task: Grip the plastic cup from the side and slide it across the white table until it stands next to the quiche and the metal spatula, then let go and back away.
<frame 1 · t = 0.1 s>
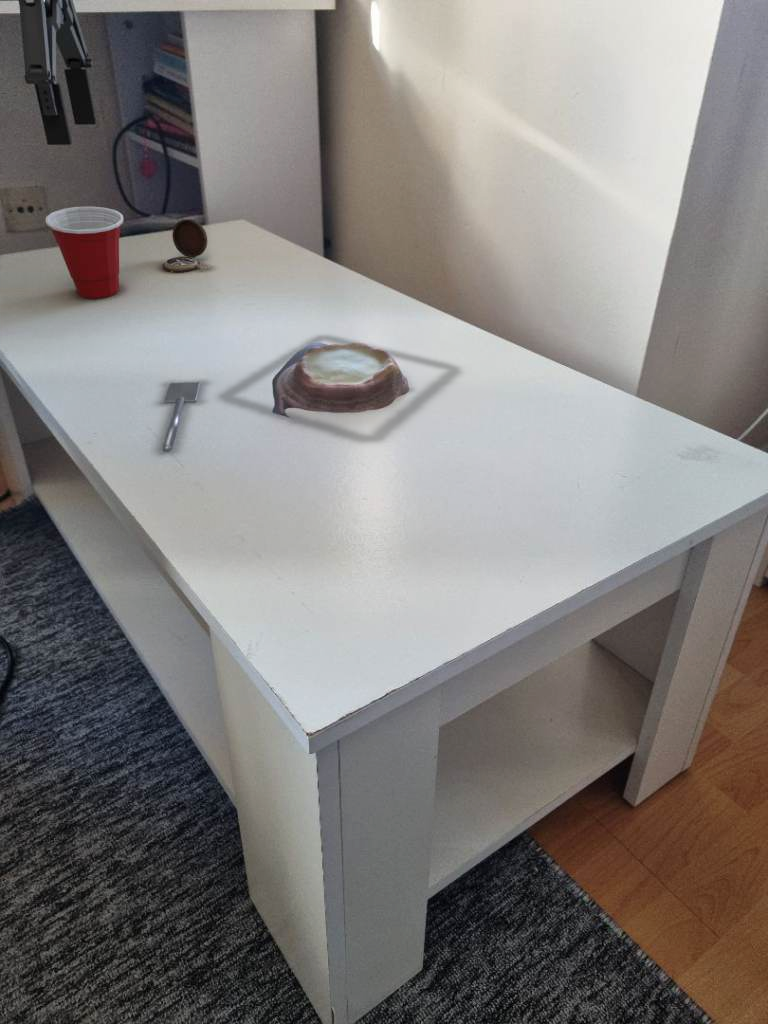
hand: (73, 134, 103), 24 cm above the table, tool pointing down, fingers open, 13 cm apart
plastic cup: (100, 297, 123), on the table
metal spatula: (177, 419, 91), on the table
compass: (189, 270, 134), on the table
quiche: (343, 388, 98), on the table
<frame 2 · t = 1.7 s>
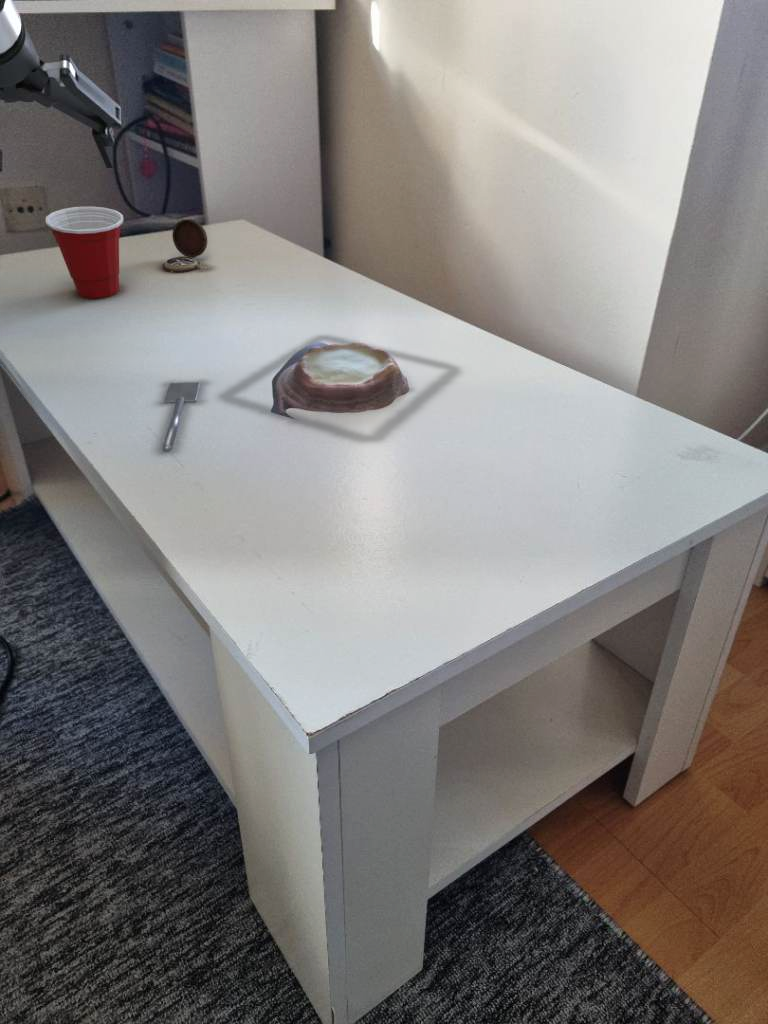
hand: (54, 160, 102), 22 cm above the table, tool tilted 45°, fingers open, 13 cm apart
nothing on the table moved.
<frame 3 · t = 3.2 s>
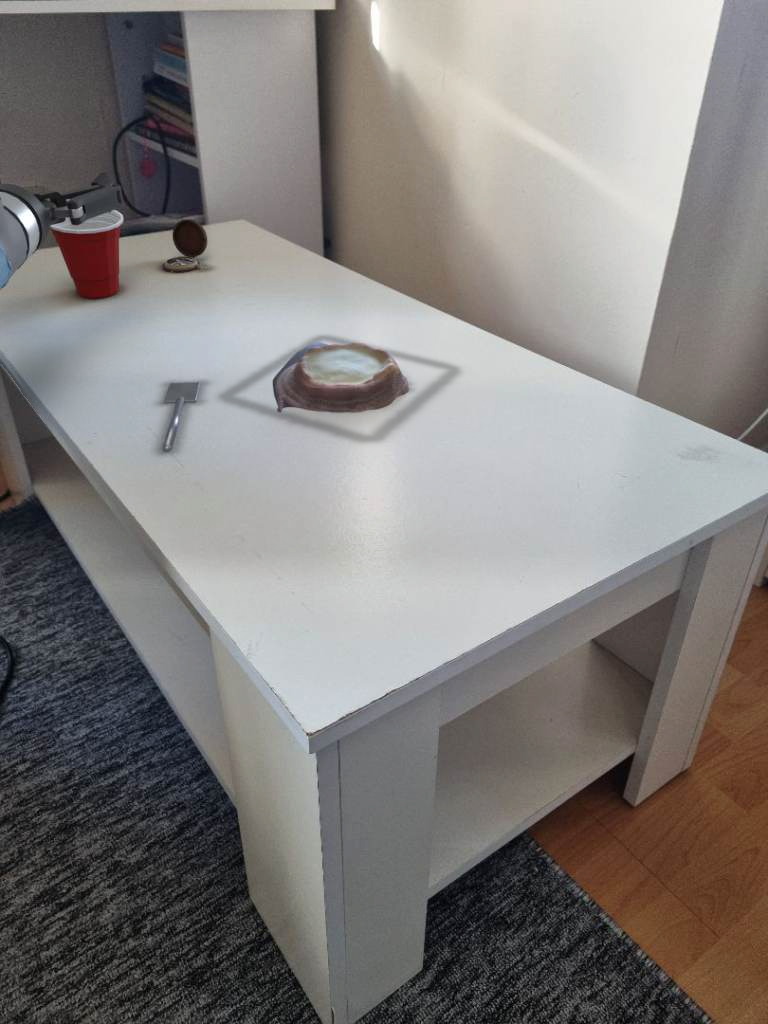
hand: (53, 185, 104), 18 cm above the table, tool horizontal, fingers open, 13 cm apart
nothing on the table moved.
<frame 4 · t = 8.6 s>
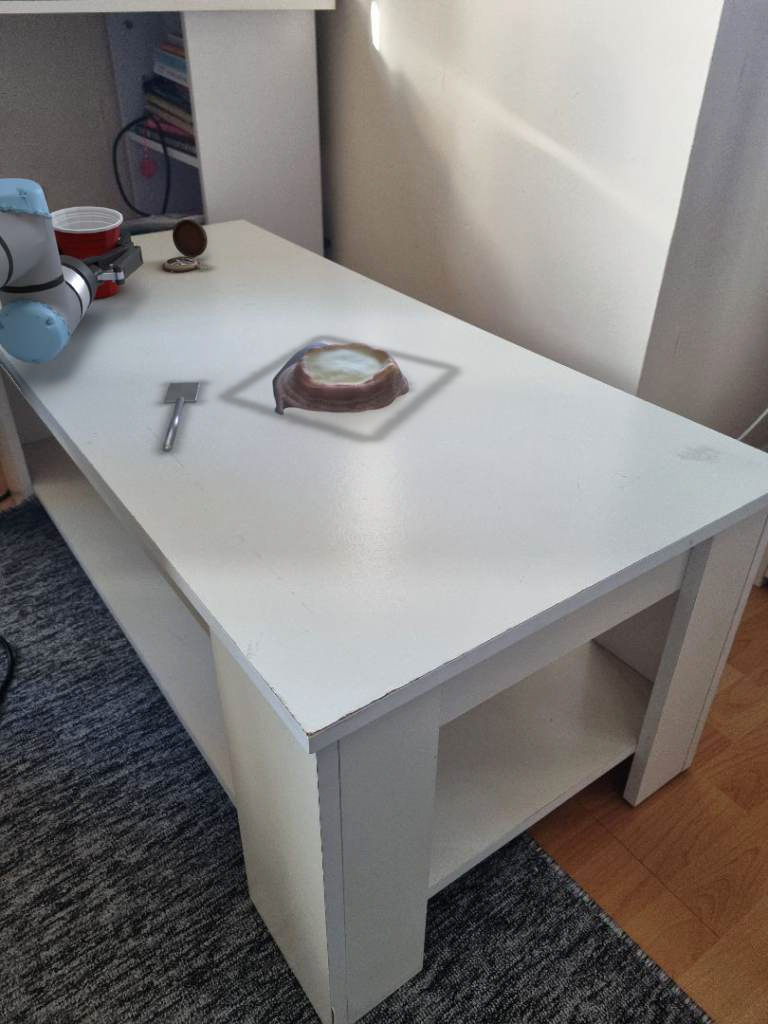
hand: (98, 240, 123), 7 cm above the table, tool horizontal, fingers closed on plastic cup, 8 cm apart
plastic cup: (100, 297, 123), on the table, touching gripper
everything else where it was.
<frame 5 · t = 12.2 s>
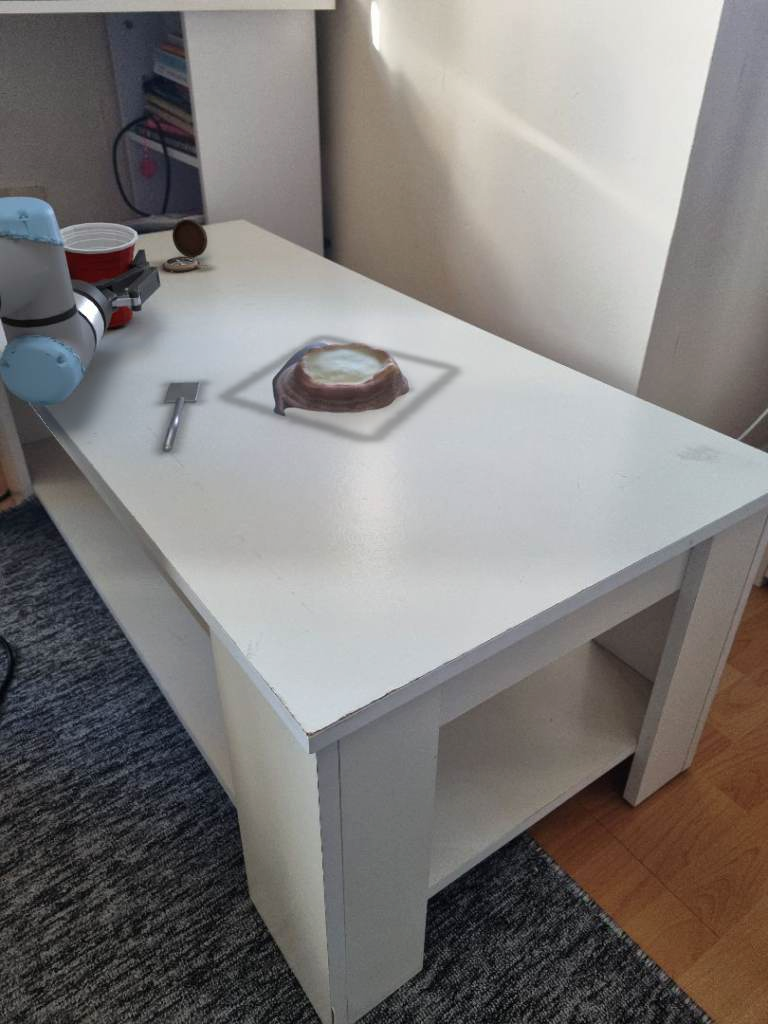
hand: (110, 260, 112), 8 cm above the table, tool horizontal, fingers closed on plastic cup, 8 cm apart
plastic cup: (112, 321, 112), point 1 cm above the table, touching gripper
everything else where it was.
when the fingers open (7 cm above the table, at t = 16.2 s): plastic cup stays where it is, on the table.
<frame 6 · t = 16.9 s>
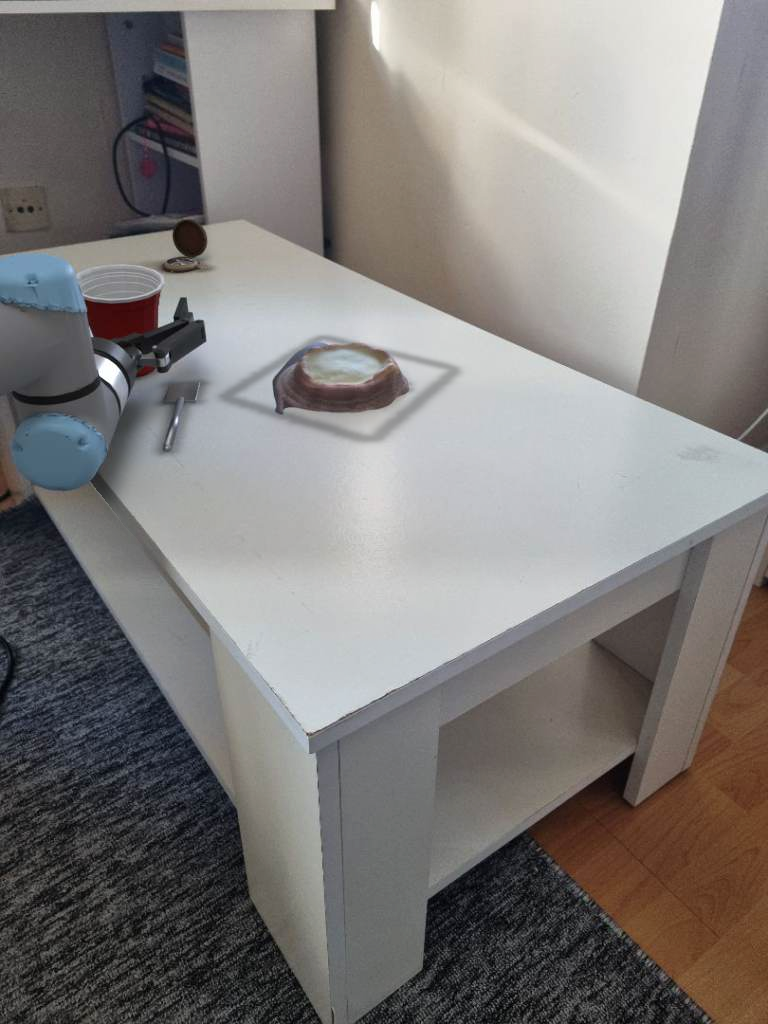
hand: (129, 309, 100), 7 cm above the table, tool horizontal, fingers open, 13 cm apart
plastic cup: (134, 373, 101), on the table
everything else where it was.
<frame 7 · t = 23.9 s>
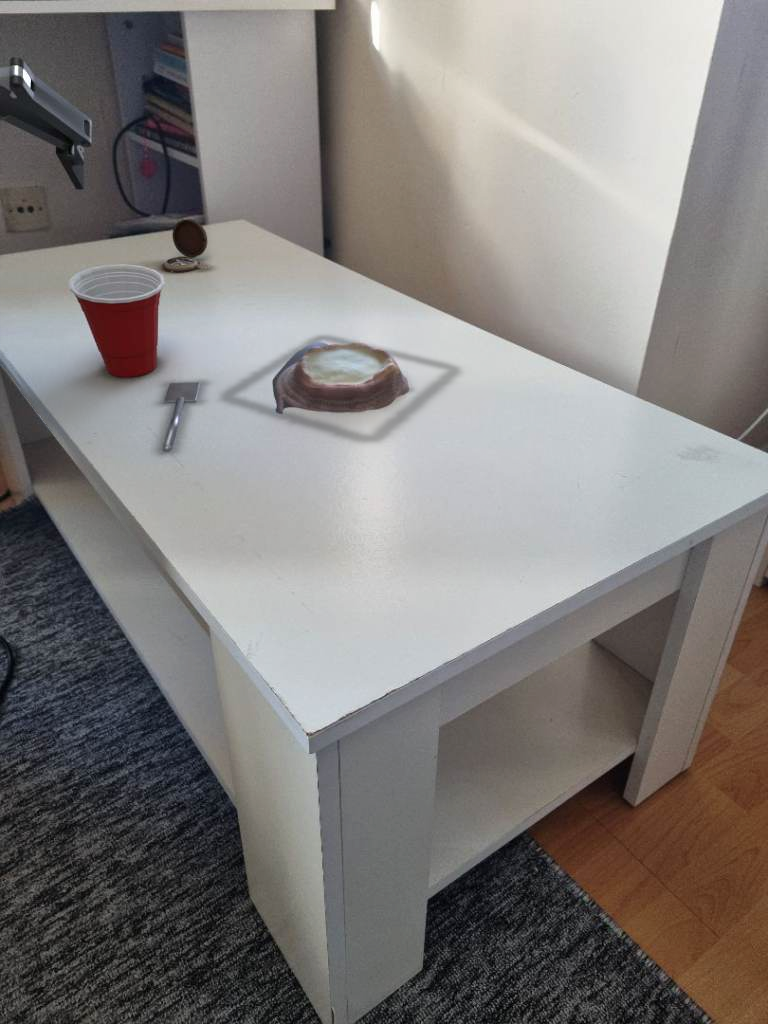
hand: (12, 177, 83), 24 cm above the table, tool tilted 45°, fingers open, 13 cm apart
nothing on the table moved.
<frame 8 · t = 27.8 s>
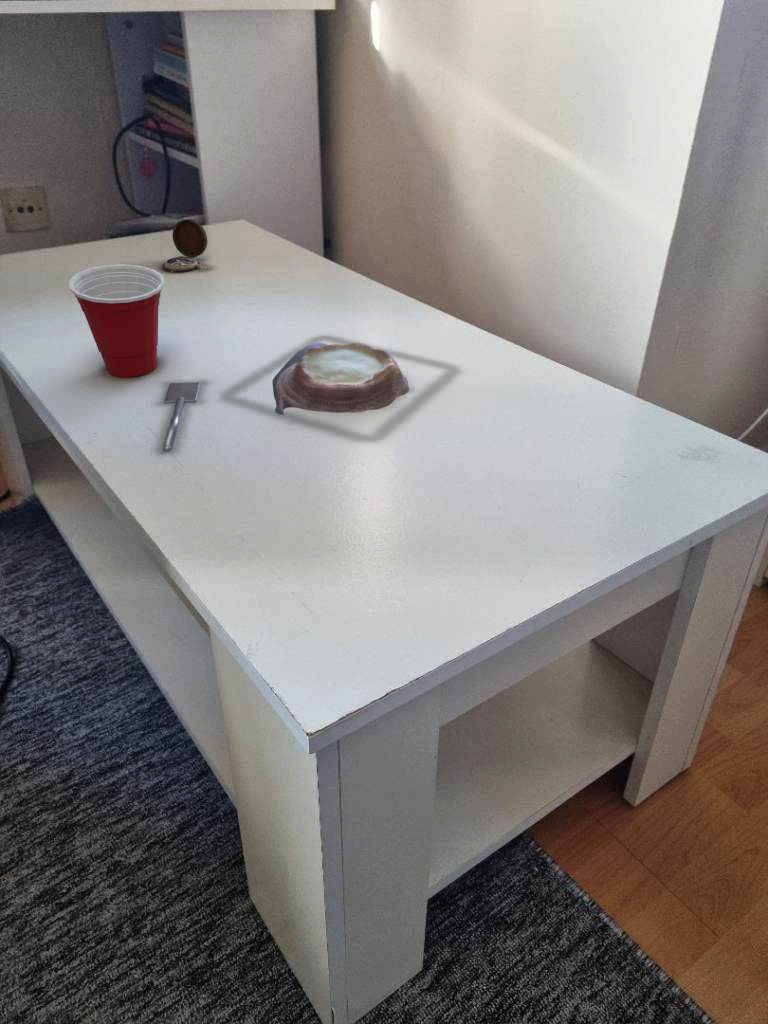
nothing on the table moved.
at the end: plastic cup 26.7 cm from the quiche (horizontally); plastic cup moved 29.7 cm from its start; plastic cup tilted 0° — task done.
